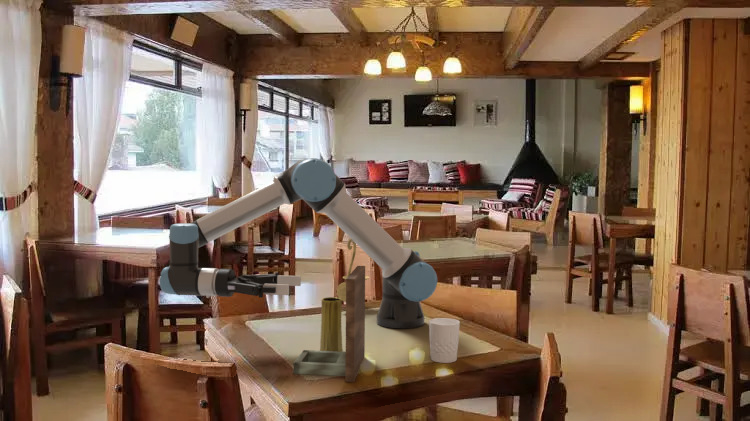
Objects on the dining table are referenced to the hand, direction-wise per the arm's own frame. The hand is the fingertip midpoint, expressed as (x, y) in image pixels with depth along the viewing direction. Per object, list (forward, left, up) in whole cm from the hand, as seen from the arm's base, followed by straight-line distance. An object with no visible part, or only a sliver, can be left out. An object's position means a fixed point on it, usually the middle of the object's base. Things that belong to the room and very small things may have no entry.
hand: (295, 285), depth 174 cm
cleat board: (-6, +17, -18) cm, 25 cm away
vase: (-9, +3, -18) cm, 20 cm away
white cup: (-36, +16, -18) cm, 44 cm away
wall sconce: (-26, -49, -18) cm, 58 cm away
